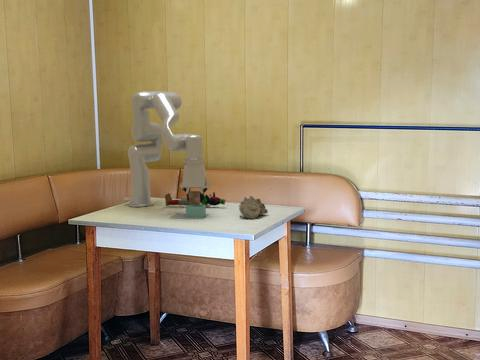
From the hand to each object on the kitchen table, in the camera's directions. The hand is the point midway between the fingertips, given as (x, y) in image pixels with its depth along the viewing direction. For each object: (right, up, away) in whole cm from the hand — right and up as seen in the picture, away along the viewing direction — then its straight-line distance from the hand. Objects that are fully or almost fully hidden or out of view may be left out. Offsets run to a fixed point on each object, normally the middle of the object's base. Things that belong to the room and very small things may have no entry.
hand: (195, 201), depth 273 cm
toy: (-2, -5, +27) cm, 27 cm away
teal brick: (0, -7, +1) cm, 7 cm away
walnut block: (0, -1, 0) cm, 1 cm away
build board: (-3, -8, +2) cm, 8 cm away
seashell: (+26, -7, +2) cm, 27 cm away
